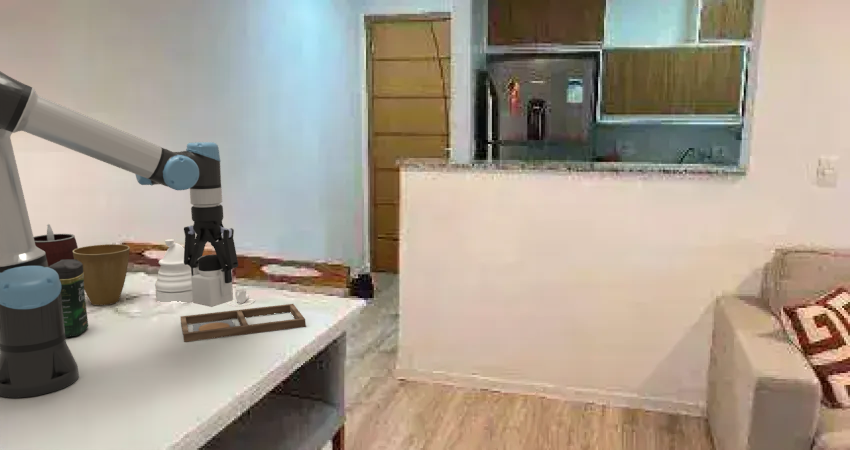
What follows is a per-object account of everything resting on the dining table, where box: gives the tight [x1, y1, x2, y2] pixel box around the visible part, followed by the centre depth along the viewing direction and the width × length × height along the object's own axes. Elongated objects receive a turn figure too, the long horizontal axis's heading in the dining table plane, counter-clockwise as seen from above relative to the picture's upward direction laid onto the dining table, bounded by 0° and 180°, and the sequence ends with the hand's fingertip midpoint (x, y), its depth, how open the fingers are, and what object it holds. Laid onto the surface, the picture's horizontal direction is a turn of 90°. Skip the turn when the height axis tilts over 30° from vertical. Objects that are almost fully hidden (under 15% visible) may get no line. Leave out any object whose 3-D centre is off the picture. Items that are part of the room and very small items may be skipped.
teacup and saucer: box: [226, 288, 256, 307], centre depth 195 cm, size 9×8×4 cm
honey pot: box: [154, 238, 193, 304], centre depth 198 cm, size 13×13×18 cm
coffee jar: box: [49, 259, 89, 339], centre depth 167 cm, size 10×8×19 cm
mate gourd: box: [33, 223, 79, 266], centre depth 207 cm, size 16×14×20 cm
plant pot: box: [73, 243, 131, 306], centre depth 195 cm, size 15×15×16 cm
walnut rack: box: [179, 303, 306, 343], centre depth 174 cm, size 15×30×2 cm, turn 112°
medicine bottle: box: [191, 254, 234, 308], centre depth 169 cm, size 7×7×12 cm
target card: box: [191, 319, 235, 331], centre depth 171 cm, size 10×10×1 cm
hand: (212, 293), depth 170 cm, fingers closed on medicine bottle, 8 cm apart
